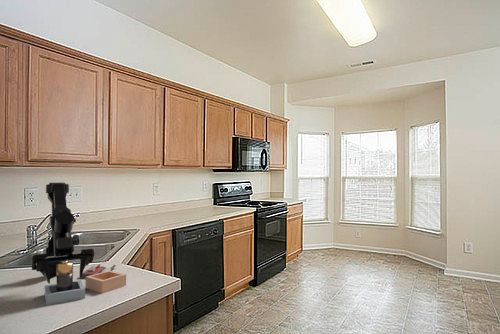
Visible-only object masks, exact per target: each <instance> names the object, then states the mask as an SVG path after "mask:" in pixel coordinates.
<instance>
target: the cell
mask: <svg viewBox="0 0 500 334" xmlns="http://www.w3.org/2000/svg"><path fill="white" fill-rule="evenodd" d="M73 273H74V261H72V260H71V261H67V260H65V261H62V262H60V263H57V277H56V281H55V282H56V283H55V284H56V292H63V291H69V290H73V281H74V274H73Z"/></svg>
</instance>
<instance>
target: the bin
mask: <svg viewBox="0 0 500 334" xmlns="http://www.w3.org/2000/svg"><path fill="white" fill-rule="evenodd" d="M126 286H127V274H126V273H122V272H119V271H118V272H117V271H114V270H111V271H110V270H109V271H105V272H102V273H98V274H94V275H90V276H87V277H86V278H85V285H84V287H85V289H87V290H91V291H94V292H97V293H100V294H104V293H107V292H111V291H114V290H116V289H120V288H122V287H126Z"/></svg>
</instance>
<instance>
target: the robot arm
mask: <svg viewBox="0 0 500 334" xmlns="http://www.w3.org/2000/svg"><path fill="white" fill-rule="evenodd" d="M68 193H70V185H69V183H66V182H49V183H47V184H46V185H45V194H47V199H48V201H49V202H50V203H51V216H49V227H51V238H50V239H49V240H48V242H47V244H46V245H47V247H45V250H44V253H43V252H42V253H34V254H33V255H32V256H31V270H32V271H36V272H40V274H41V275H43V276H44V279H45V280H46V282H47V283H48V284H47V285H51V278H57V263H60V262H62V261H65V260H67V261H71V262H72V261H79V260H80V262H79V271H78V272H79V280H81V279H82V278H81V277H82V274H83V272H84V271H85V269H86V266H89V265H90V264H91V263H93V262H94V257H95V249H93V248H92V247H90V248H82V249H81V251H80V253H74V251H75V246H79V245H80V235H79V234H77V235H76V234H75V235H74V234H73V236H72V231H73V227H74V224H75V223H76V220H77V219H76V218H75V216H74V214H73V213H72V211H71V209H70V208H69V207H68V206H67V198H66V197H67V195H68Z"/></svg>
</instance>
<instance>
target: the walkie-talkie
mask: <svg viewBox="0 0 500 334" xmlns="http://www.w3.org/2000/svg"><path fill="white" fill-rule="evenodd" d="M116 266H117V265H116V264H113V265H112V266H111V267H109V268H107V267H106V266H101V264H99V263H98V264H97V263H95V264H93V265H91V266H90V267H89V268H88V269H86V270H84V271H83V274H82V277H81V279H86V277H87V276H90V275H94V274H98V273H102V272H105V271H109V270H110V271H113V269H114V268H116Z"/></svg>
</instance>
